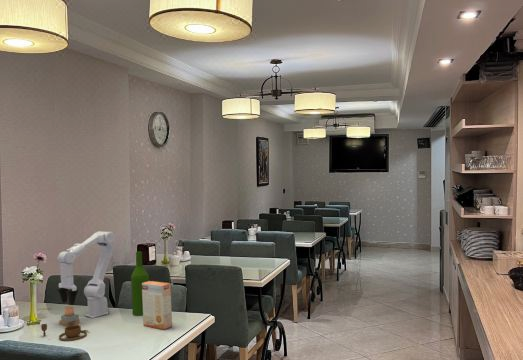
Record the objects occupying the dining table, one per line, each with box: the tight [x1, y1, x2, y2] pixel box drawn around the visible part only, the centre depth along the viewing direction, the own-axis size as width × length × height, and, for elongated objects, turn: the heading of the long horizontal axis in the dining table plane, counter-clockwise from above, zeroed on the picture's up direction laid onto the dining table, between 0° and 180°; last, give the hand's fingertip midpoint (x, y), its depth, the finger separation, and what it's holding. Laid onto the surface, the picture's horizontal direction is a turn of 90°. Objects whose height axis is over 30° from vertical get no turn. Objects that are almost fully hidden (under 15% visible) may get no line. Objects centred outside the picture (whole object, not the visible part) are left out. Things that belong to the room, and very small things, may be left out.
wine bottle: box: [130, 250, 150, 317], centre depth 259 cm, size 9×9×32 cm
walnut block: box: [58, 319, 81, 328], centre depth 245 cm, size 7×7×2 cm
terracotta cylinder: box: [63, 305, 75, 316], centre depth 245 cm, size 4×4×4 cm
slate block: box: [60, 312, 80, 323], centre depth 245 cm, size 6×6×2 cm
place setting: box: [40, 323, 91, 342], centre depth 228 cm, size 18×20×6 cm
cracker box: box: [142, 280, 173, 331], centre depth 236 cm, size 14×6×21 cm, turn 55°
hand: (68, 303), depth 245 cm, fingers open, 7 cm apart
